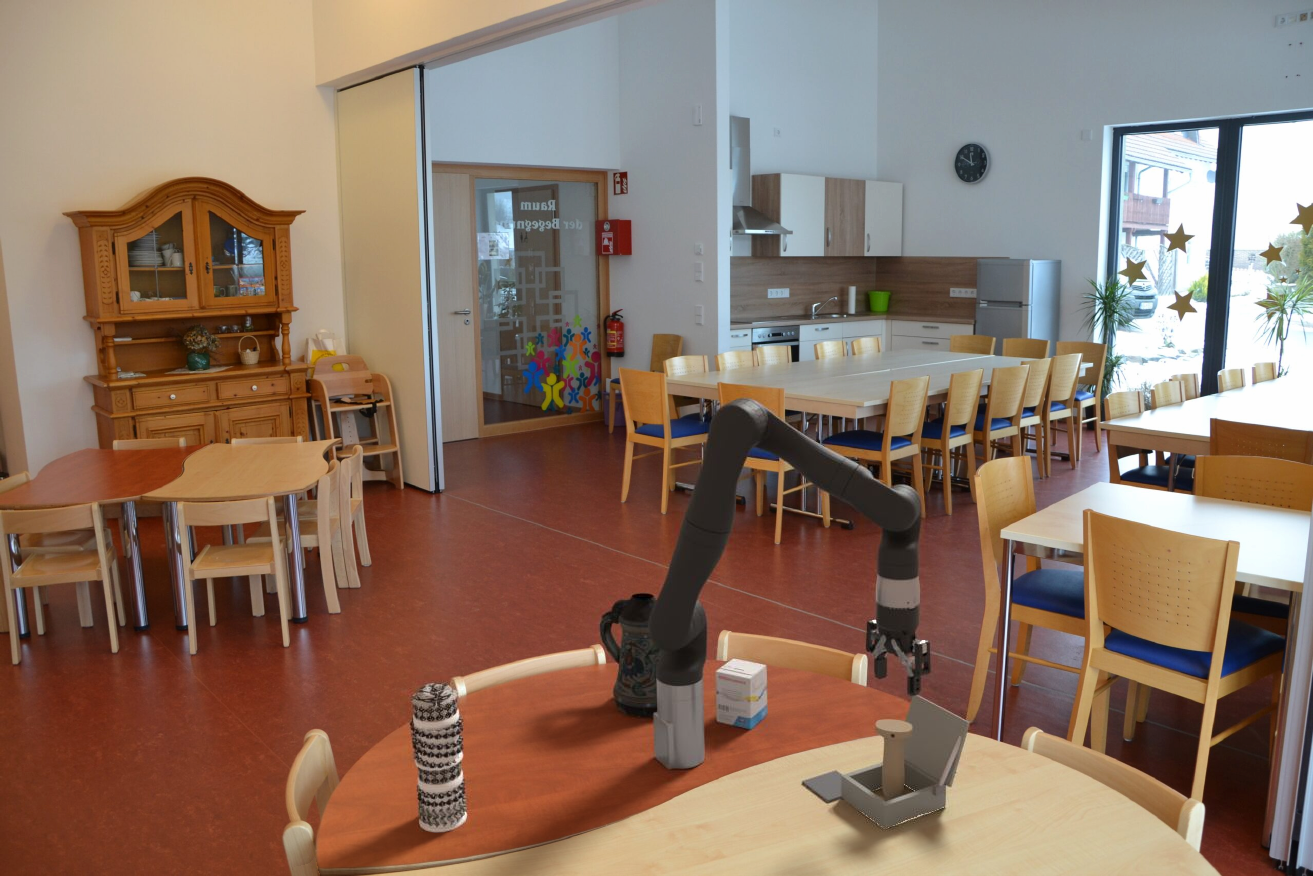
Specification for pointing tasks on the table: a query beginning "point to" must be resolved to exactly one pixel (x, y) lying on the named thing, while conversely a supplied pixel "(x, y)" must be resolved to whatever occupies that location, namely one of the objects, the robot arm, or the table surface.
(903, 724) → the handle
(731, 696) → the ink box
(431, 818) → the decorative candle
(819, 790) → the mat
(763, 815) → the table surface
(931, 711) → the case
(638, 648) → the beer stein
